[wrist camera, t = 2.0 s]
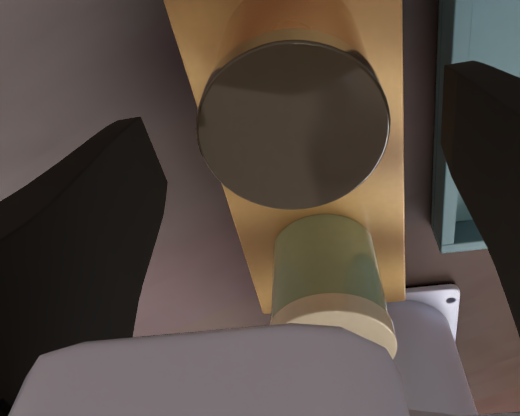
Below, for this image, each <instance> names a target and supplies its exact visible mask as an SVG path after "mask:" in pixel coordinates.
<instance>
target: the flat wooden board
mask: <svg viewBox="0 0 520 416" xmlns="http://www.w3.org/2000/svg"><path fill="white" fill-rule="evenodd" d="M163 1H164V4H165V7H166V10H167V14H168V17H169V20H170V23H171V26H172V29H173V32H174V36H175V39H176V42H177V45H178V48H179V51H180V54H181V58H182V61H183V64H184V67H185V70H186V73H187V76H188V80H189V83H190V86H191V89H192V92H193V95H194V98H195V102H196V105H197V108H198V106H199V103H200V99H201V96H202V93H203V90H204V87H205V84H206V82H207V80H208V78H209V76H210V74H211V72H212V71H213V69H214V65H215V62H216V58H217V55H218V51H219V48H220V44H221V41H222V37H223V33H224V30H225V28H226V25H227V22H228V20H229V19H230V17H231V15H232V13H233V12H234V11H235V9H236V8H237V7H238V5H239V4H240V3H241V2H242V1H243V0H163ZM341 1H342V2H343V3H344V4H345V5H346V6H347V8H348V9H349V11H350V12H351V14H352V15H353V17H354V19H355V22H356V24H357V27H358V30H359V33H360V36H361V39H362V42H363V45H364V48H365V50H366V53H367V56H368V59H369V62H370V64H371V65H372V67H373V69H374V70H375V72H376V73H377V75H378V77H379V80H380V82H381V84H382V87H383V90H384V92H385V95H386V98H387V102H388V106H389V110H390V119H391V123H390V135H389V140H388V144H387V146H386V149H385V152H384V154H383V156H382V158H381V160H380V162H379V164H378V165H377V167H376V168H375V170H374V171H373V172H372V174H371V175H370V176H369V177H368V178H367V179H366V180H365V181H364V182H363V183H362V184H361V185H360V186H358V187H357V188H356V189H355V190H353V191H352V192H350V193H349V194H347V195H345V196H343V197H341V198H340V199H338V200H335V201H333V202H330V203H328V204H325V205H321V206H318V207H313V208H307V209H296V210H287V209H276V208H270V207H265V206H261V205H258V204H255V203H252V202H250V201H248V200H246V199H244V198H241V197H240V196H238V195H236V194H235V193H233V192H232V191H230V190H229V189H228V188H227V187H225V186H224V185H223V184H222V186H223V189H224V193H225V196H226V199H227V202H228V205H229V208H230V211H231V214H232V218H233V221H234V224H235V227H236V230H237V233H238V236H239V240H240V243H241V246H242V249H243V252H244V255H245V258H246V262H247V265H248V268H249V271H250V274H251V277H252V280H253V284H254V287H255V290H256V293H257V296H258V299H259V302H260V305H261V309H262V312H263V314H268V313H271V307H272V272H273V247H274V243H275V241H276V239H277V237H278V235H279V234H280V233H281V231H282V230H283V229H285V228H286V227H287V226H288V225H290V224H291V223H293V222H295V221H296V220H299V219H301V218H304V217H307V216H311V215H317V214H334V215H340V216H345V217H348V218H350V219H353V220H355V221H357V222H358V223H360V224H361V225H362V226H363V227H365V228H366V229H367V231H368V232H369V233H370V235H371V236H372V238H373V241H374V245H375V250H376V255H377V260H378V265H379V270H380V275H381V280H382V284H383V289H384V294H385V299H386V302H397V301H405V299H406V288H405V199H404V111H403V22H402V0H341Z"/></svg>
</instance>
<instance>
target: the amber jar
mask: <svg viewBox="0 0 520 416" xmlns="http://www.w3.org/2000/svg"><path fill="white" fill-rule="evenodd" d="M390 123H391V119H390V110H389V106H388V102H387V98H386V95H385V92H384V90H383V87H382V84H381V82H380V80H379V77H378V75H377V73H376V72H375V70H374V69H373V67H372V65H371V64H370V62H369V59H368V56H367V53H366V50H365V48H364V45H363V42H362V39H361V36H360V33H359V30H358V27H357V24H356V22H355V19H354V17H353V15H352V14H351V12H350V11H349V9H348V8H347V6H346V5H345V4H344V3H343V2H342V1H341V0H243V1H242V2H241V3H240V4H239V5H238V7H237V8H236V9H235V11H234V12H233V13H232V15H231V17H230V19H229V20H228V22H227V25H226V28H225V30H224V33H223V37H222V41H221V44H220V48H219V51H218V55H217V58H216V62H215V65H214V69H213V71H212V72H211V74H210V76H209V78H208V80H207V82H206V84H205V87H204V90H203V93H202V96H201V99H200V103H199V106H198V111H197V116H196V135H197V141H198V145H199V149H200V152H201V154H202V156H203V159H204V161H205V162H206V164H207V166H208V168H209V169H210V171H211V172H212V173H213V174H214V176H215V177H216V178H217V179H218V180H219V181H220V182H221V183H222V184H223V185H224V186H225V187H227V188H228V189H229V190H230V191H232V192H233V193H235V194H236V195H238V196H240V197H241V198H244V199H246V200H248V201H250V202H252V203H255V204H258V205H261V206H265V207H270V208H276V209H287V210H296V209H307V208H313V207H318V206H321V205H325V204H328V203H330V202H333V201H335V200H338V199H340V198H341V197H343V196H345V195H347V194H349V193H350V192H352V191H353V190H355V189H356V188H357V187H358V186H360V185H361V184H362V183H363V182H364V181H365V180H366V179H367V178H368V177H369V176H370V175H371V174H372V172H373V171H374V170H375V168H376V167H377V165H378V164H379V162H380V160H381V158H382V156H383V154H384V152H385V149H386V146H387V144H388V140H389V135H390Z"/></svg>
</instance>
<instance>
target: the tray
mask: <svg viewBox="0 0 520 416" xmlns="http://www.w3.org/2000/svg"><path fill="white" fill-rule="evenodd" d="M472 60H474V61H478V62H481V63H484V64H487V65H490V66H492V67H495V68H497V69H500V70H502V71H505V72H507V73H509V74H512V75H514V76H517V77H519V78H520V0H439V18H438V45H437V73H436V101H435V128H434V156H433V184H432V211H431V228H432V231H433V233H434V236H435V239H436V242H437V245H438V247H439V250H440V253H451V252H461V251H470V250H479V249H487V246H486V245H485V243H484V241H483V239H482V237H481V235H480V233H479V231H478V229H477V227H476V225H475V223H474V221H473V219H472V217H471V215H470V213H469V211H468V209H467V207H466V205H465V203H464V201H463V199H462V197H461V195H460V193H459V191H458V189H457V187H456V185H455V183H454V181H453V179H452V177H451V174H450V171H449V168H448V165H447V162H446V159H445V156H444V153H443V149H442V146H441V124H442V103H443V82H444V65H448V64H454V63H460V62H466V61H472Z"/></svg>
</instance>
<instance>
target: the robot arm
mask: <svg viewBox="0 0 520 416" xmlns="http://www.w3.org/2000/svg"><path fill="white" fill-rule="evenodd" d="M441 146H442V149H443V153H444V156H445V159H446V162H447V165H448V168H449V171H450V174H451V177H452V179H453V181H454V183H455V185H456V187H457V189H458V191H459V193H460V195H461V197H462V199H463V201H464V203H465V205H466V207H467V209H468V211H469V213H470V215H471V217H472V219H473V221H474V223H475V225H476V227H477V229H478V231H479V233H480V235H481V237H482V239H483V241H484V243H485V245H486V246H487V249H488V251H489V253H490V255H491V258H492V260H493V262H494V264H495V267H496V270H497V273H498V276H499V278H500V281H501V284H502V287H503V289H504V292H505V295H506V298H507V301H508V304H509V307H510V310H511V313H512V316H513V318H514V321H515V324H516V327H517V330H518V333H519V336H520V78H519V77H517V76H514V75H512V74H509V73H507V72H505V71H502V70H500V69H497V68H495V67H492V66H490V65H487V64H484V63H481V62H478V61H474V60H472V61H466V62H460V63H454V64H448V65H444V82H443V103H442V124H441ZM167 183H168V182H167V180H166V177H165V175H164V172H163V170H162V167H161V165H160V163H159V160H158V158H157V155H156V153H155V150H154V148H153V146H152V143H151V141H150V138H149V136H148V133H147V131H146V128H145V126H144V124H143V121H142V119H141V117H135V118H129V119H123V120H118V121H116V122H114V123H112V124H110V125H109V126H107V127H105V128H104V129H103V130H101V131H100V132H98V133H97V134H96V135H94V136H93V137H91V138H90V139H89V140H87V141H86V142H85V143H84V144H82V145H81V146H80V147H78V148H77V149H76V150H74V151H73V152H72V153H70V154H69V155H68V156H66V157H65V158H64V159H63V160H61V161H60V162H59V163H57V164H56V165H54V166H53V167H51V168H50V169H49V170H47V171H46V172H44V173H43V174H42V175H40V176H39V177H37V178H36V179H35V180H33V181H32V182H30V183H29V184H28V185H26V186H24V187H23V188H21V189H20V190H18V191H17V192H15V193H14V194H12V195H10V196H9V197H7V198H5V199H4V200H2V201H0V416H520V412H513V413H495V414H478V413H477V410H476V407H475V403H474V400H473V397H472V394H471V391H470V388H469V385H468V382H467V378H466V375H465V372H464V369H463V366H462V363H461V360H460V357H459V354H458V350H457V347H456V344H455V340H456V330H457V320H458V310H459V300H460V290H459V288H458V286H457V285H454V284H445V285H435V286H425V287H414V288H406V299H405V301H397V302H386V304H387V309H388V314H389V315H390V317H391V319H392V321H393V324H394V328H395V333H396V338H397V344H398V346H397V352H396V355H395V357H394V359H392V357H391V356H390V354H389V352H388V350H387V349H386V348H385V347H383V346H381V345H379V344H377V343H375V342H373V341H370V340H368V339H366V338H364V337H362V336H360V335H357V334H355V333H353V332H351V331H349V330H347V329H344V328H342V327H340V326H327V325H313V324H299V323H287V324H276V325H265V326H253V327H242V328H231V329H220V330H209V331H198V332H186V333H175V334H164V335H153V336H142V337H133V330H134V325H135V319H136V313H137V307H138V302H139V297H140V293H141V289H142V285H143V282H144V279H145V275H146V272H147V269H148V265H149V262H150V259H151V255H152V252H153V249H154V246H155V242H156V239H157V236H158V232H159V229H160V225H161V222H162V218H163V214H164V208H165V201H166V192H167Z"/></svg>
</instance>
